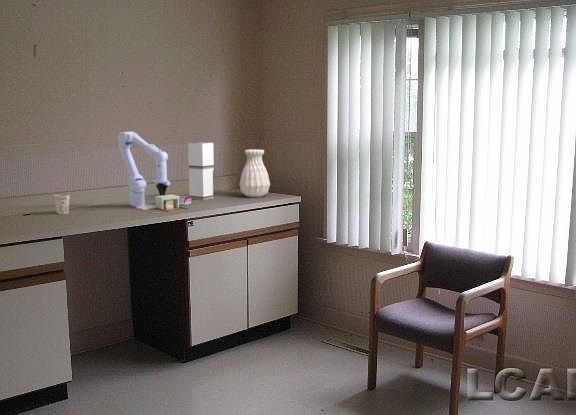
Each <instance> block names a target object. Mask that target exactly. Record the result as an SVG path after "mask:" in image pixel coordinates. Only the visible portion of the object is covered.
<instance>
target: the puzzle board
mask: <svg viewBox="0 0 576 415" xmlns="http://www.w3.org/2000/svg"><path fill="white" fill-rule="evenodd" d="M154 206H155V207H156V205H154ZM133 210H138V211H140V212H146V213H150V214H163V213H171V212H178V211H187V210H189V208H187V207H183V206H179V208H177V207H173V209H159V208H155V209H151V210H140V209H136V207H133Z"/></svg>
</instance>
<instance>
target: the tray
mask: <svg viewBox="0 0 576 415" xmlns="http://www.w3.org/2000/svg"><path fill="white" fill-rule="evenodd" d="M155 206H156V205H150V204H148V205H147V204H145V206H135V208H136V209H135V210H137V209H140V210H139V211H141V210H151V209H155V208H156V207H155Z"/></svg>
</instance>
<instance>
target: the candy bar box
mask: <svg viewBox="0 0 576 415" xmlns="http://www.w3.org/2000/svg"><path fill="white" fill-rule="evenodd" d="M178 196H179V206H187V205H189V204H192V199H191V196H189V195H188V196H187V195H178Z"/></svg>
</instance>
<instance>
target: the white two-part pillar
mask: <svg viewBox="0 0 576 415" xmlns="http://www.w3.org/2000/svg"><path fill="white" fill-rule="evenodd" d="M187 147H188V148H187V149H188V150H187V151H188V152H187V153H188V154H187V155H188V190H189V193H188V196H191V200H199V201H206V200H207V201H208V200H212V199H215V195H214V178H213V176H214V173H213V172H214V170H215V169H214V168H215V167H214V166H215V163H214V162H215V161H214V153H215V152H214V142H201V141H200V142H197V143H193V142H188V144H187Z"/></svg>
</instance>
